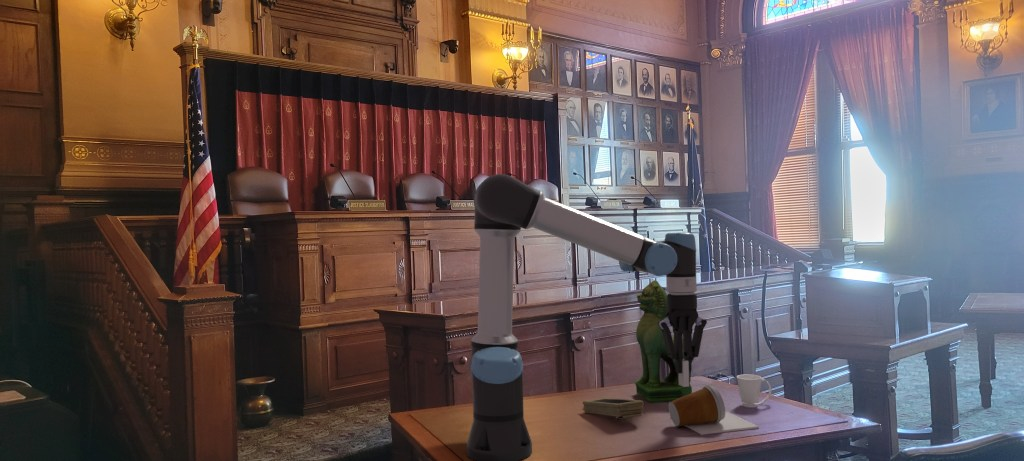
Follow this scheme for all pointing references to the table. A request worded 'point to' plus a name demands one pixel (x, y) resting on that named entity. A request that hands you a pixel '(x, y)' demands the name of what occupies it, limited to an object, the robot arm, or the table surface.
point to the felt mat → (723, 425)
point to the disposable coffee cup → (698, 407)
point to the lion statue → (656, 349)
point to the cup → (751, 389)
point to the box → (614, 407)
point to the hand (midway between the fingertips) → (683, 385)
